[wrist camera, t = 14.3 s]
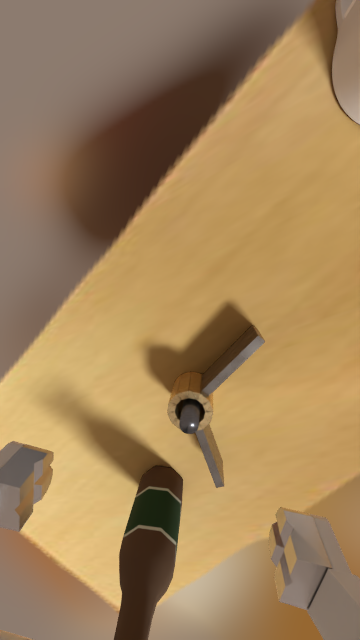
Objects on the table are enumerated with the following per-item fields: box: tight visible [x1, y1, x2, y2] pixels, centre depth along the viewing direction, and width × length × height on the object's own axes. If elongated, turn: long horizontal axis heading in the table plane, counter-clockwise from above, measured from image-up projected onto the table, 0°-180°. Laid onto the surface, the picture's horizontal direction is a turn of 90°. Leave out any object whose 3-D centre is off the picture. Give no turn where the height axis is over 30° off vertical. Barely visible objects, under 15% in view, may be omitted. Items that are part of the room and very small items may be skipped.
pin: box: [179, 398, 200, 434], centre depth 37 cm, size 2×2×9 cm
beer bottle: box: [114, 466, 183, 640], centre depth 35 cm, size 8×8×24 cm
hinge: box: [167, 325, 265, 488], centre depth 38 cm, size 21×15×6 cm
